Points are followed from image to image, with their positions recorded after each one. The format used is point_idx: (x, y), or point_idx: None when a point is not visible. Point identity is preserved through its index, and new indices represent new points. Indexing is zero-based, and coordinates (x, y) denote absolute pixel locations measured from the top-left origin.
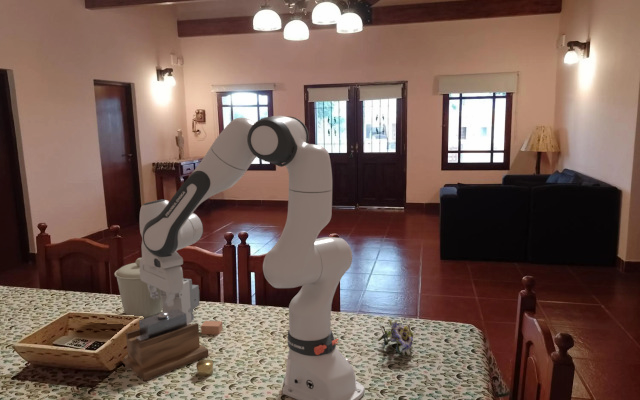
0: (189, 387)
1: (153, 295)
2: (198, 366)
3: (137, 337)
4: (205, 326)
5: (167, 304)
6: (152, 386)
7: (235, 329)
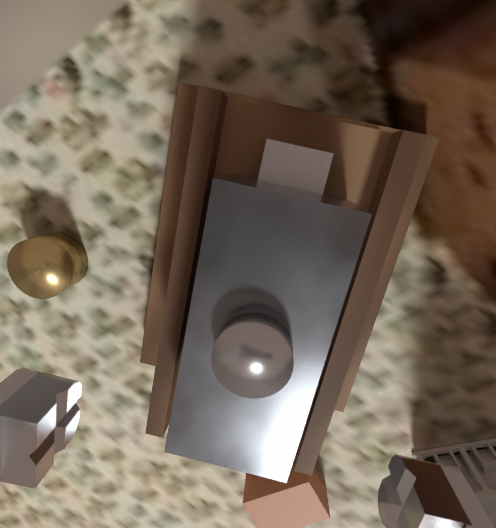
0: (21, 160)
1: (408, 494)
2: (33, 240)
3: (320, 155)
4: (292, 485)
5: (10, 378)
6: (129, 82)
7: (225, 520)
